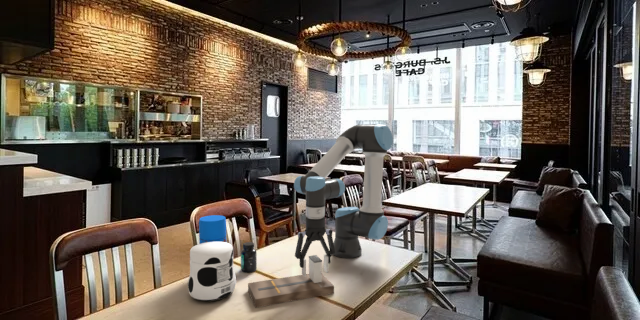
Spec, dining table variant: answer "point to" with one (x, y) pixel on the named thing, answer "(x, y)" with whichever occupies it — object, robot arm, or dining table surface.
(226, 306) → the dining table surface
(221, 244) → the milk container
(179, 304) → the dining table surface
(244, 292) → the dining table surface
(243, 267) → the supplement bottle
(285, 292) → the wooden slotted board
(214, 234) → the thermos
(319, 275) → the fader
